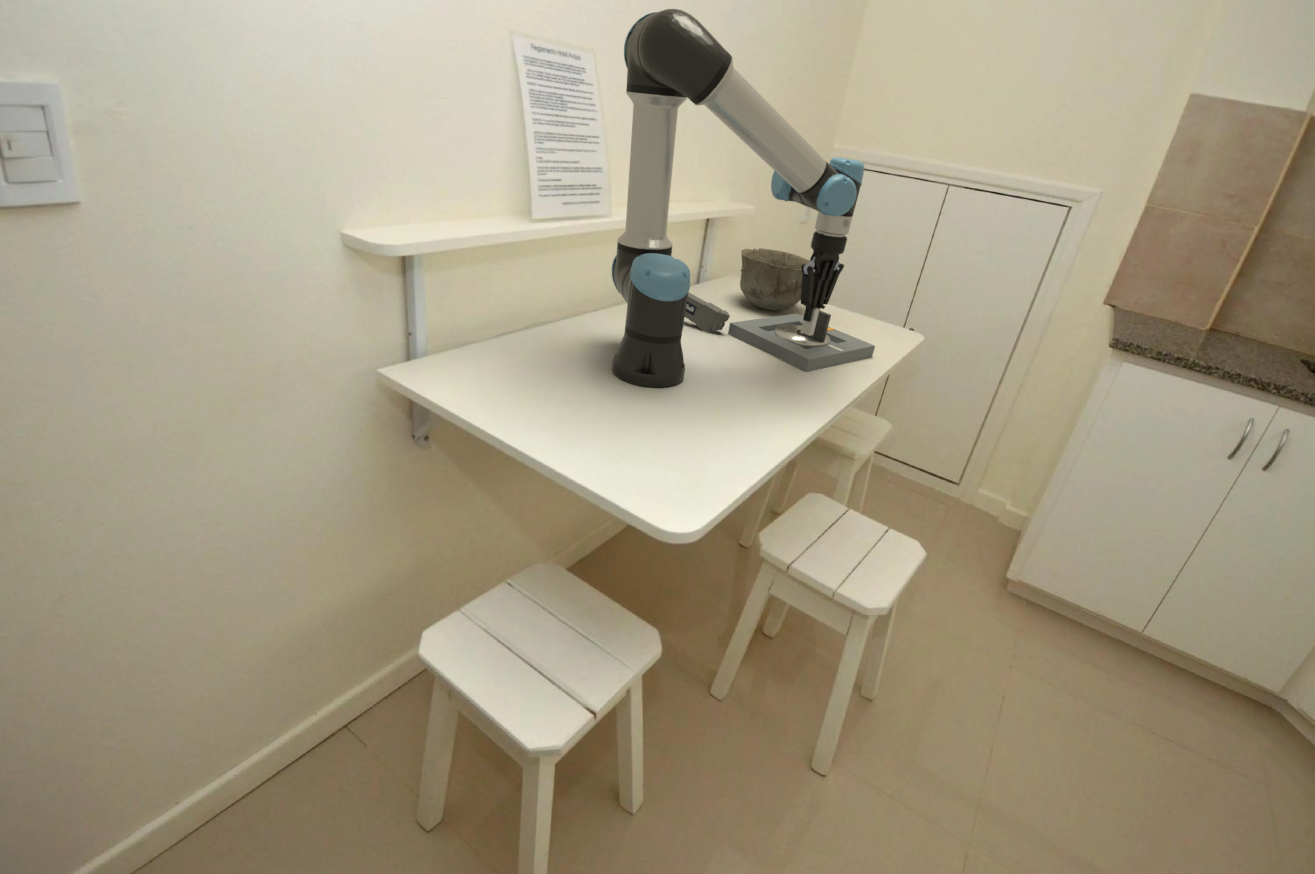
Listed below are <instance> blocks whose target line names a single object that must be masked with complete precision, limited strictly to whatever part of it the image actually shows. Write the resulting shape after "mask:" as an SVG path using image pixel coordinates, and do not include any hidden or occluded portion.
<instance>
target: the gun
mask: <svg viewBox="0 0 1315 874" xmlns="http://www.w3.org/2000/svg"><path fill="white" fill-rule="evenodd" d="M730 316H731V315H730V313H729V312H727V311H726V310H725V309H724V310H723V309H722V308H720V307H719V306H718V305H715V304H713V303H712V302H707V301H705V300H703V298H700V297H698V296H697V295H695V294H693V293H691V292H688V298H687V304H686V311H685V317H684V318H686V319H688V320H689V321H690V322H691V323H693V324H695V325H696V327H698V328H699V329H700V330H701V331H703V332H705V333H715V332H716V331H722V330H723V328H724V327H725V324H726V322H728V320H729V318H730Z"/></svg>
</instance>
